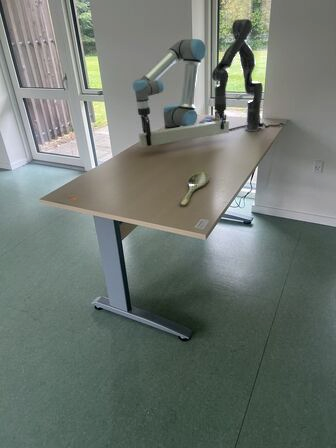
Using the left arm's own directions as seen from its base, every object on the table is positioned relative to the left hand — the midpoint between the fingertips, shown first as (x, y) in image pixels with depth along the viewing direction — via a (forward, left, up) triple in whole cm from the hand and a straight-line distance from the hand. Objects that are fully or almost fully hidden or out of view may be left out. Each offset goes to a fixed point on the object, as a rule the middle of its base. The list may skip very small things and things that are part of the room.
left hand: (148, 144), depth 218 cm
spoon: (+6, +64, -7) cm, 65 cm away
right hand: (-50, +11, +3) cm, 51 cm away
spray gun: (-71, -32, -7) cm, 78 cm away
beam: (-25, +5, -1) cm, 26 cm away
